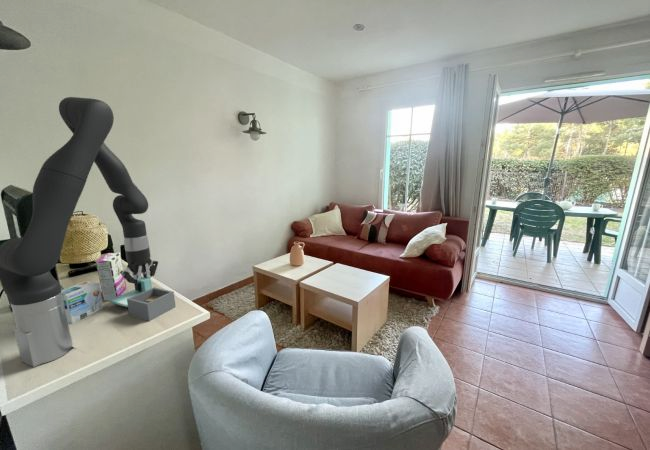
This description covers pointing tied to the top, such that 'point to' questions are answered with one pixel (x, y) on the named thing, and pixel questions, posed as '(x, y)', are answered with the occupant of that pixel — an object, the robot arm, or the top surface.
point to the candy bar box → (111, 276)
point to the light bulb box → (82, 300)
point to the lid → (132, 293)
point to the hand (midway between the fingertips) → (143, 289)
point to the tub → (151, 304)
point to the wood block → (151, 298)
